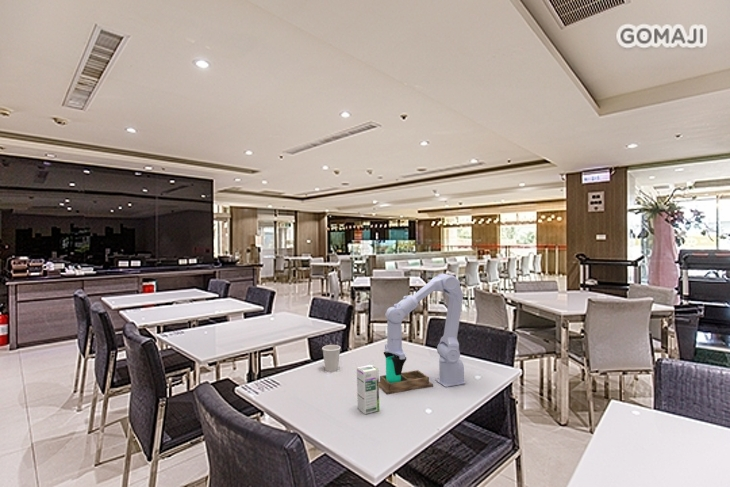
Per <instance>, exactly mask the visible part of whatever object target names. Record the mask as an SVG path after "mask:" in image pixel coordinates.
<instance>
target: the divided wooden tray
mask: <svg viewBox="0 0 730 487" xmlns="http://www.w3.org/2000/svg"><path fill="white" fill-rule="evenodd" d="M433 386H434V384H433V383H432V382H431V381H430V377H429V376H427V375H426V374H424V373H423V372H421V371H420V370H419V369H417V370H410V371H405V372H404V371H402V372H401V381H400V382H394V383H389V382H388V381H387V380H386V374H385V375H380V376H379V389H380V390H382V391H383V392H384V394H385V395H391V394H392V395H393V394H397V393H403V392H409V391H415V390H420V389H425V388H432V387H433Z"/></svg>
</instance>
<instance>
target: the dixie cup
mask: <svg viewBox="0 0 730 487" xmlns="http://www.w3.org/2000/svg"><path fill="white" fill-rule="evenodd" d="M321 349H322V353H323V362H324V370H325V371H326V372H330V373H333V372H337V371H338V370H339V361H340V354H341V346H340V345H338V344H327V345H324V346H322V347H321Z"/></svg>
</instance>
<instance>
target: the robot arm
mask: <svg viewBox="0 0 730 487" xmlns="http://www.w3.org/2000/svg"><path fill="white" fill-rule="evenodd" d="M460 284H461V281H460V280H459V279H458V278H457V277H456V276H455V275H453V274H447V273H442V272H441V273H438V274H437V275H436V276H434V277H432V279H430V280H429V281H428V282H427V283H426V284H425V285H424V286H422V287H421V288H420V289H419V290H417V291H416V292H415V293H414V294H412V295H410V294H409V295H404V296H403V297H402V299H401V300H400V301H399V302H397V303H394V304H393V306H390V307H388V308H387V310H386V311H385V314H384V315H385V318H386V320H387V322H386V323H387V325H386V336H387V337H386V339H387V340H386V341H387V343H385V344H384V352H383V355H384V357H385V359H386V358H387V357H390V356H393V357H391V359H392V361H393V363H394V369H395V374H396V375H401V373H403V369H404V365H405V362H406V361H407V357H406V353H405V352H404V350H403V343H402V342H403V341H402V340H403V335H402V334H403V333H402V332H403V331H402V330H403V329H402V322H403V321H404V318H405V316H407V315H408V314H410V313H411V312H413V311H414V310H415V309H416V308H418V306H419V305H418V304H419V302H420V301H422V300H424V299H425V298H426V297H428V296H429V295H431V294H432V293H434V292H441V291H442V292H444V293H445V294H446V296H448V304H447V311H446V317H445V324H444V330H443V334H442V335H443V336H441V337H440V340H439V342H438V345H437V348H436V352H437V353H438V355H439V358H438V360H439V361H438V363H439V364H438V366H439V369H438V372H439V373H438V375H439V378H435V380H434V381H436V382H438V383H439V384H441V386H444V387H445V388H446V387H447V388H448V387H453V386H459V385H465V384H466V382H465V366H464V365H465V364H464V363H463V361H462V360H461V359H460V358H461V352H460V343H459V341H458V335H459V334H458V332H459V328H460V320H461V313H462V306H463V299H464V293H463V290H462V287H461V285H460Z"/></svg>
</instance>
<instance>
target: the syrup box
mask: <svg viewBox="0 0 730 487" xmlns="http://www.w3.org/2000/svg"><path fill="white" fill-rule="evenodd" d="M379 372H380V371H379V368H377V367H376V366H375V365H372V364H368V365H363V366H358V367H356V396H357V409H358V410H359V411H360V412H361V413H363V415H368V414H371V413H375V412H379V411H380V388H379V382H380V376H379V374H380V373H379Z"/></svg>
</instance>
